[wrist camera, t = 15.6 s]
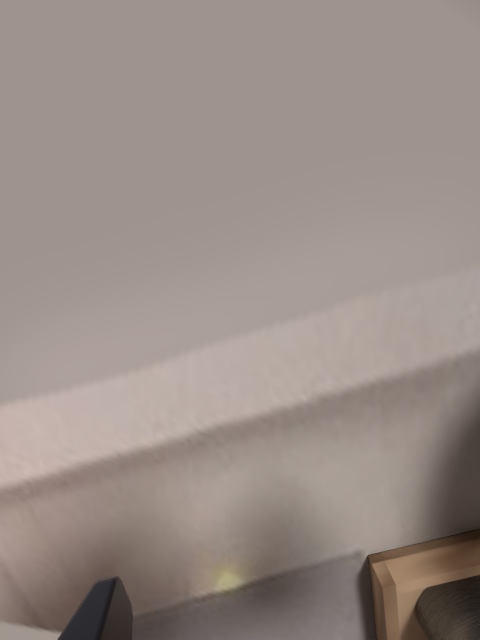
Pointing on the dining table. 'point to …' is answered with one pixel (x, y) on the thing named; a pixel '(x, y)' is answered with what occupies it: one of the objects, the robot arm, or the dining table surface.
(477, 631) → the tea tin
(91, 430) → the dining table surface
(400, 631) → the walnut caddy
